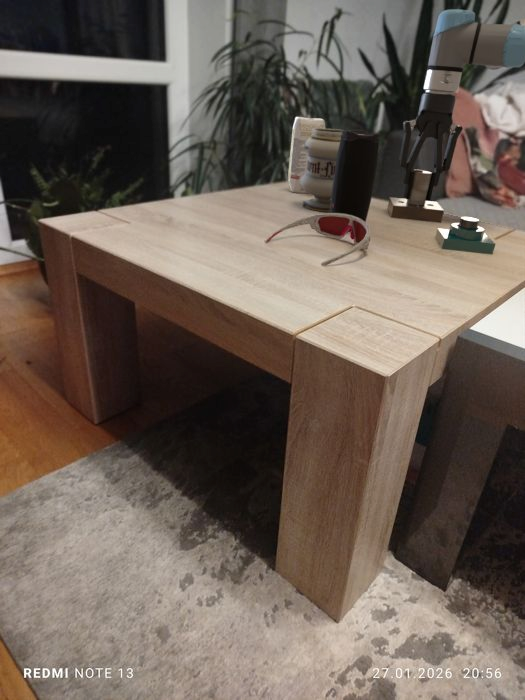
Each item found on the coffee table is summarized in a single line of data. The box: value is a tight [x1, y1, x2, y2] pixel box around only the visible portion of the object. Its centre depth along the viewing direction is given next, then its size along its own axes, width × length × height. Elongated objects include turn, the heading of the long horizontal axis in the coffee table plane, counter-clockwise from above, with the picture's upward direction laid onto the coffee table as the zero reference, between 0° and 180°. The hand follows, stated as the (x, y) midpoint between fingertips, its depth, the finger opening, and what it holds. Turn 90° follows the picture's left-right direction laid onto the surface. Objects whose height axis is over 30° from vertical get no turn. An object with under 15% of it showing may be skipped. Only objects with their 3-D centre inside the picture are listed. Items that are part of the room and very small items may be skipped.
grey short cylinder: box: [458, 216, 480, 230], centre depth 102 cm, size 4×4×2 cm
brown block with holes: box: [386, 196, 445, 224], centre depth 125 cm, size 12×10×3 cm
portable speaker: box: [329, 128, 381, 232], centre depth 107 cm, size 9×9×20 cm
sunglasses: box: [264, 212, 372, 267], centre depth 95 cm, size 17×17×5 cm
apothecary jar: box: [300, 128, 344, 213], centre depth 122 cm, size 12×12×18 cm
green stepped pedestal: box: [434, 222, 496, 255], centre depth 103 cm, size 10×8×4 cm
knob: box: [407, 169, 432, 205], centre depth 122 cm, size 4×4×8 cm
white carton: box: [287, 116, 326, 194], centre depth 138 cm, size 8×9×19 cm
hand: (416, 198), depth 124 cm, fingers closed on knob, 4 cm apart
